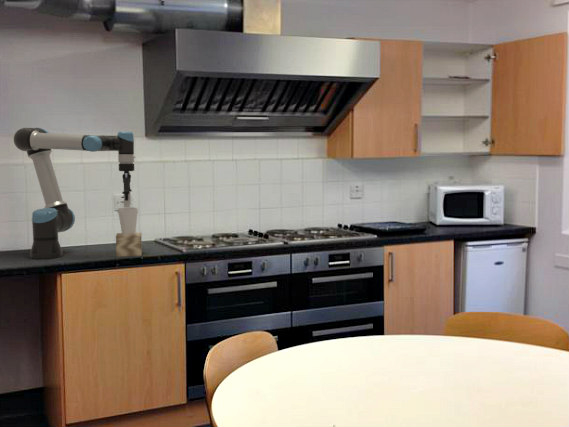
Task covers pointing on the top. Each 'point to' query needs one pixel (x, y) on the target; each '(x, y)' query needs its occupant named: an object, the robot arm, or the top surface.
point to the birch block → (128, 245)
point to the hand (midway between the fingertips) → (127, 206)
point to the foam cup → (128, 220)
